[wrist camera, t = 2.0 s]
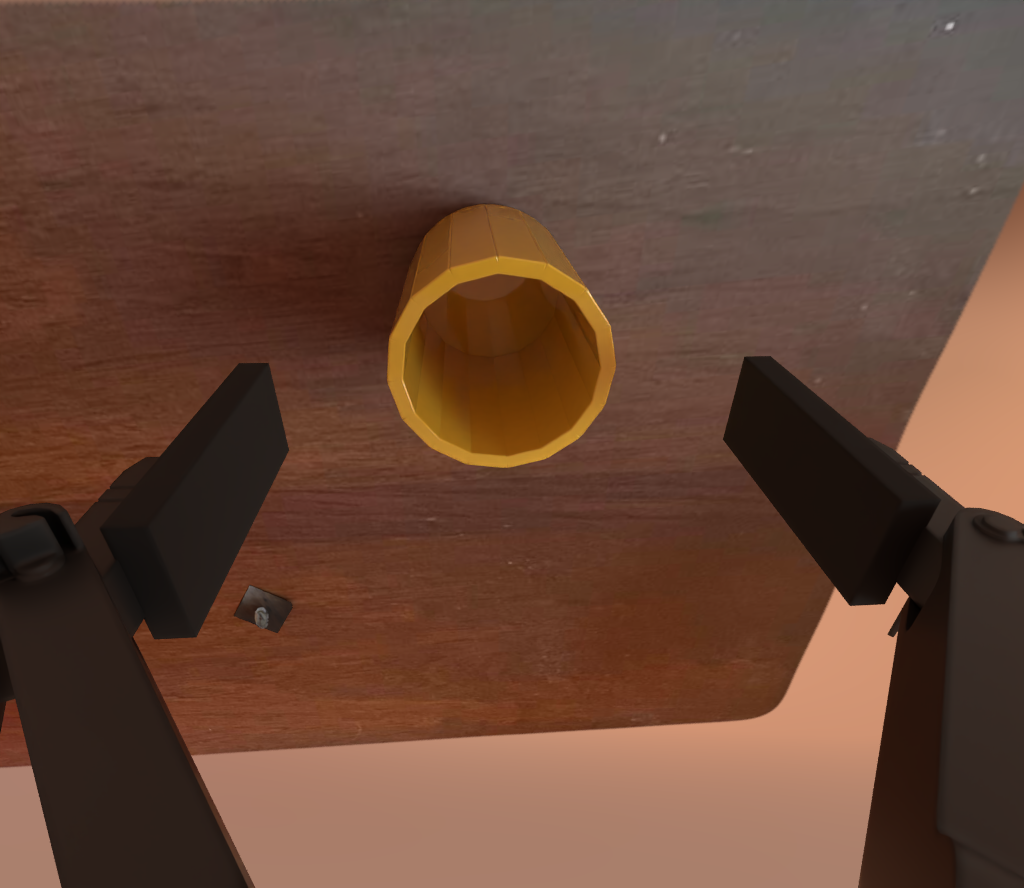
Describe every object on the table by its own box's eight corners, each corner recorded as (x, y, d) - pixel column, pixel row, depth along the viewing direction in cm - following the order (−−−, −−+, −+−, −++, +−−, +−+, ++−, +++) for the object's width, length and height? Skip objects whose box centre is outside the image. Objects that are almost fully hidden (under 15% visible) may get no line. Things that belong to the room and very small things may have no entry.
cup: (376, 272, 24) (337, 354, 16) (506, 166, 22) (532, 203, 14) (474, 387, 27) (481, 500, 20) (595, 303, 25) (654, 391, 18)
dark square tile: (233, 615, 34) (225, 630, 33) (250, 584, 33) (241, 599, 32) (277, 632, 35) (270, 648, 34) (295, 603, 34) (288, 618, 33)
